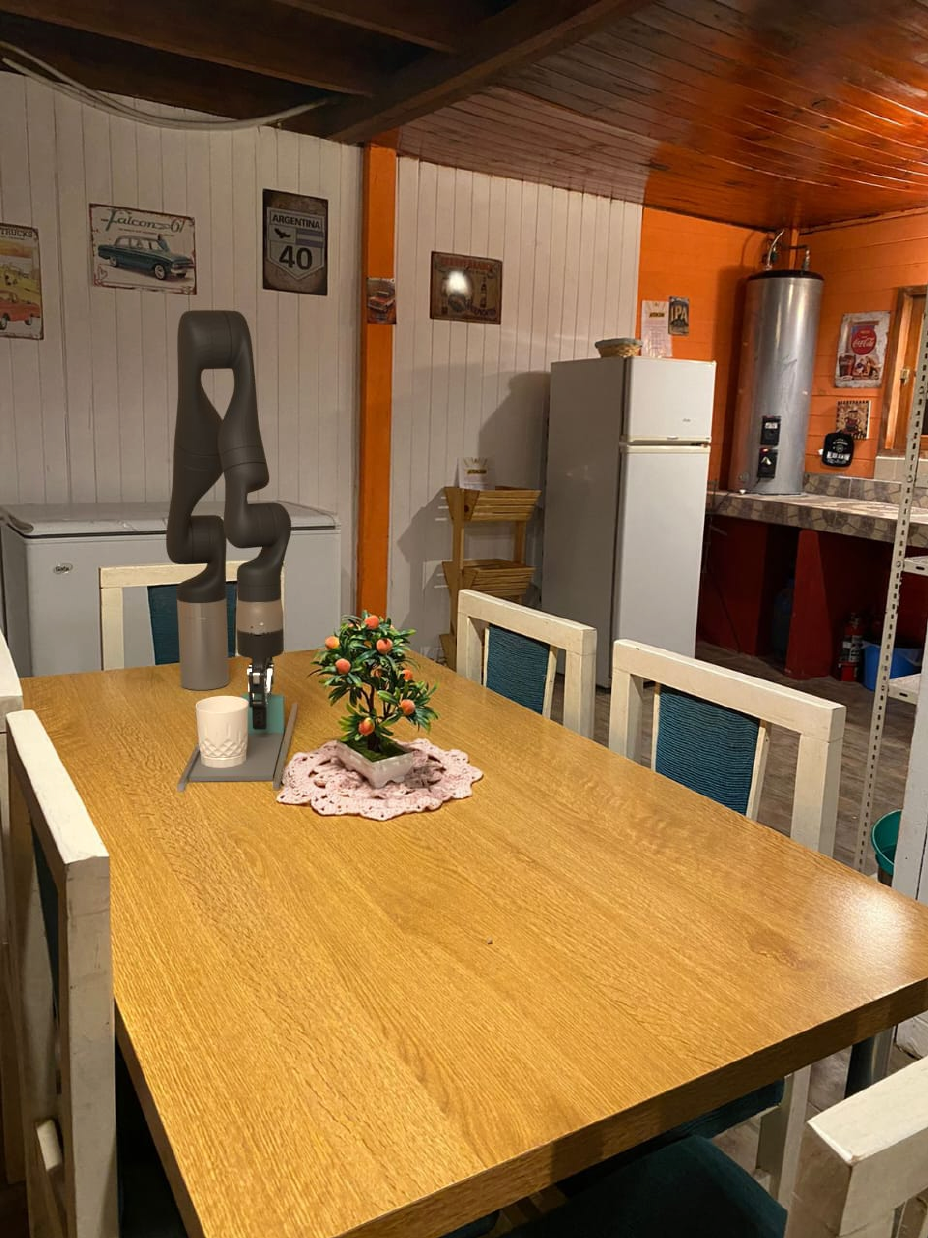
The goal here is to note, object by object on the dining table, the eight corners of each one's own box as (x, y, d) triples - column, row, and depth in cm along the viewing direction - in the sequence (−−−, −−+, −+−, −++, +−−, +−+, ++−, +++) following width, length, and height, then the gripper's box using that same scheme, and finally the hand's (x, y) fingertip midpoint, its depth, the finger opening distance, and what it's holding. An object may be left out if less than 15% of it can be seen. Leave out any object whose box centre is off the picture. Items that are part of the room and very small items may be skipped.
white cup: (203, 778, 146) (201, 714, 144) (193, 759, 153) (190, 699, 151) (255, 770, 150) (254, 708, 147) (243, 753, 156) (241, 693, 154)
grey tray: (213, 731, 166) (212, 693, 164) (285, 731, 167) (284, 692, 165) (190, 781, 144) (188, 738, 143) (272, 780, 145) (271, 737, 144)
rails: (217, 709, 178) (217, 702, 177) (297, 708, 179) (297, 702, 179) (177, 791, 141) (177, 784, 141) (278, 790, 142) (278, 782, 142)
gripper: (242, 615, 166) (245, 708, 170) (230, 635, 152) (233, 736, 156) (287, 615, 167) (288, 708, 171) (279, 635, 153) (281, 735, 157)
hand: (262, 721), depth 163 cm, fingers open, 7 cm apart
